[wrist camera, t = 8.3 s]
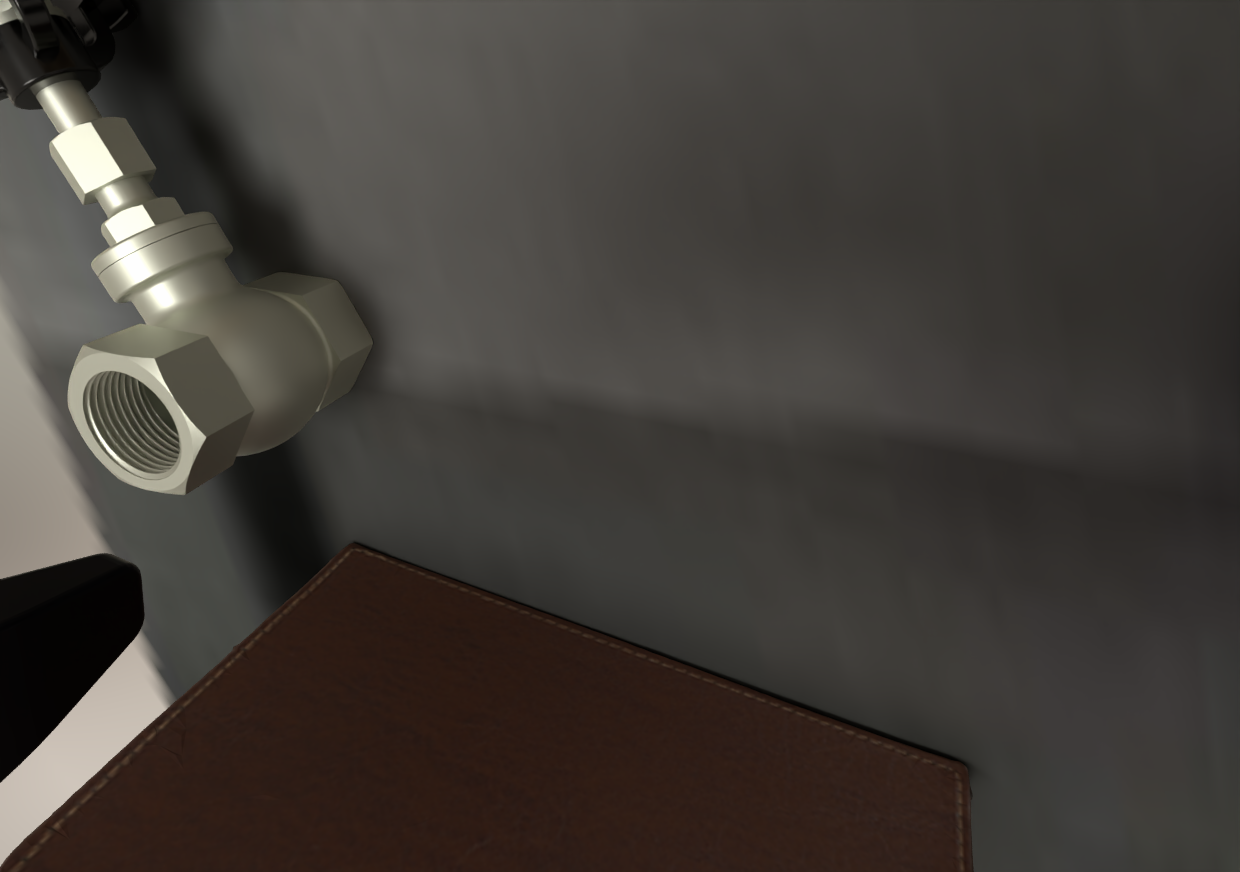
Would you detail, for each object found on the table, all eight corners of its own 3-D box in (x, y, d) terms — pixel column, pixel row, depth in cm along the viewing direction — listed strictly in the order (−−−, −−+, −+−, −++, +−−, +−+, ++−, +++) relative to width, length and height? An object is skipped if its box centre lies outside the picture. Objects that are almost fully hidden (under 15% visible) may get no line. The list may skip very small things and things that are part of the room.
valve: (440, 357, 23) (190, -90, 20) (281, 464, 17) (-103, -139, 14) (282, 428, 26) (43, 50, 23) (102, 539, 20) (-248, 56, 17)
